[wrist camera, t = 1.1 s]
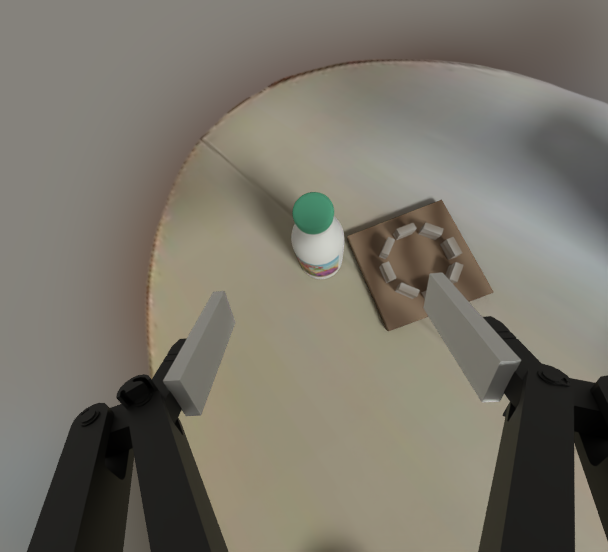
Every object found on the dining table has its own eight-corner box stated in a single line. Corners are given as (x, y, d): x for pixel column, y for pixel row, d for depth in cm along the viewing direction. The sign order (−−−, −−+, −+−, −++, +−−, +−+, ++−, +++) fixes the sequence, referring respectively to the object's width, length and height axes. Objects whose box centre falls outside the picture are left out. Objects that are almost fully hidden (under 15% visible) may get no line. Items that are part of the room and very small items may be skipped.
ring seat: (438, 203, 46) (448, 192, 42) (488, 293, 41) (504, 290, 38) (347, 238, 46) (348, 230, 42) (387, 330, 42) (392, 331, 38)
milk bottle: (309, 235, 47) (293, 170, 28) (347, 247, 46) (358, 189, 27) (294, 271, 46) (266, 230, 27) (333, 285, 45) (333, 253, 25)
